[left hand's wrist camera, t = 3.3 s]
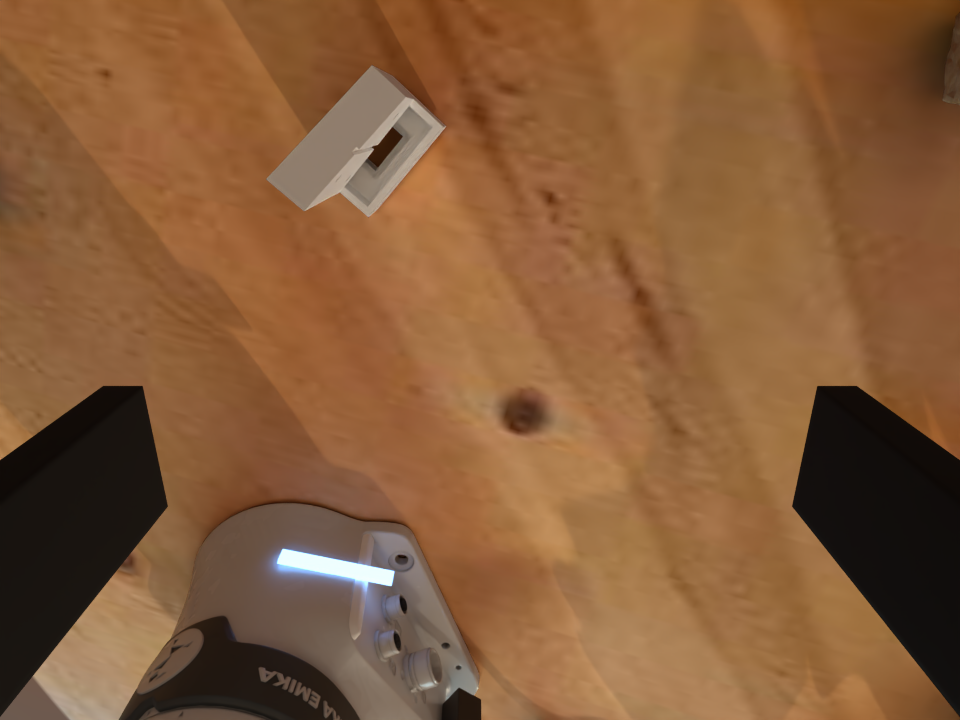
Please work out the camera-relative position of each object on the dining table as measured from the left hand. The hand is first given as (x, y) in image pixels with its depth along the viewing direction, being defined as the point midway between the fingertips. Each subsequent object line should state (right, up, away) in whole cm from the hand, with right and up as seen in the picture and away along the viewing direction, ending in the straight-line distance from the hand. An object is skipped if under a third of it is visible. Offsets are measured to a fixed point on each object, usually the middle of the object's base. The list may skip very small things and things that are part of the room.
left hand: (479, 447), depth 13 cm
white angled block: (-5, +13, +21) cm, 26 cm away
